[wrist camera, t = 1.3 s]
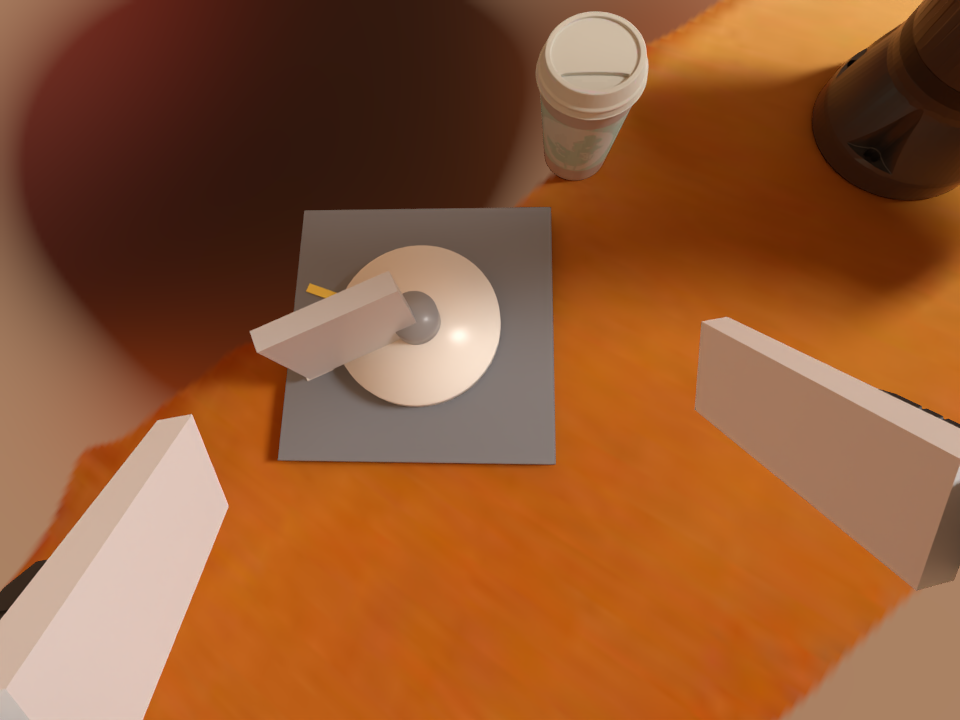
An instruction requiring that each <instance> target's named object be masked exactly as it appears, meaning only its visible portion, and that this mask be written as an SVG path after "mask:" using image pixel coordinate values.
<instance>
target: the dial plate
mask: <svg viewBox="0 0 960 720" xmlns="http://www.w3.org/2000/svg"><path fill="white" fill-rule="evenodd" d="M301 239H302V240H301V248H300V257H299V266H298V277H297V286H296V294H295V304H294V312H295V311H297V310H300V309H302V308H304V307H307V306H309V305H311V304H313V303H316V302H318V301H320V300H323V299H325V298H327V297H329V296H332V295H334V294H336V293H339V292H341V291H343V290H346V288H347V286H348V285H349V283H350V282H351V280H352V279H353V278H354V277H355V276H356V274H357V273H358V272H359V271H360V270H361V269H362V268H363V267H365V266H366V265H367V264H368V263H370V262H371V261H373V260H374V259H376V258H377V257H379V256H381V255H383V254H385V253H387V252H390V251H392V250H395V249H398V248H403V247H407V246H416V245H428V246H436V247H441V248H444V249H448V250H451V251H453V252H455V253H458V254H460V255H461V256H463V257H465V258H467V259H468V260H469V261H471V262H472V263H473V264H475V265H476V266H477V267H478V268H479V269H480V270H481V271H482V273H483V274H484V275H485V276H486V278H487V279H488V281H489V282H490V284H491V286H492V288H493V290H494V292H495V295H496V297H497V301H498V305H499V310H500V319H501V331H500V339H499V345H498V348H497V351H496V354H495V356H494V359H493V361H492V363H491V365H490V366H489V368H488V369H487V371H486V373H485V374H484V375H483V376H482V377H481V379H480V380H479V381H478V382H477V383H476V384H475V385H474V386H473V387H471V388H470V389H469V390H467V391H466V392H465V393H463V394H462V395H460V396H458V397H456V398H454V399H452V400H450V401H447V402H445V403H442V404H438V405H434V406H427V407H407V406H401V405H397V404H393V403H390V402H387V401H385V400H383V399H381V398H379V397H377V396H376V395H374V394H372V393H371V392H369V391H368V390H366V389H365V388H364V387H363V386H361V385H360V384H359V383H358V382H357V381H356V380H355V379H354V378H353V377H352V375H351V374H350V373H349V371H348V370H347V368H346V367H345V365H344V364H343V365H341V366H339V367H336V368H334V369H332V370H330V371H327V372H325V373H323V374H321V375H318V376H316V377H314V378H312V379H308V378H306V377H304V376H302V375H300V374H298V373H296V372H294V371H293V370H291V369H289V368H288V369H287V379H286V388H285V397H284V407H283V416H282V425H281V435H280V444H279V453H278V460H282V461H334V462H401V463H468V464H535V465H555V464H556V456H555V402H554V347H553V292H552V237H551V207H519V208H450V209H381V210H314V211H313V210H312V211H311V210H309V211H305V212H304V220H303V229H302V238H301Z"/></svg>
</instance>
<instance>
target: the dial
mask: <svg viewBox="0 0 960 720" xmlns="http://www.w3.org/2000/svg"><path fill="white" fill-rule="evenodd" d="M500 331H501V319H500V310H499V305H498V301H497V297H496V295H495V292H494V290H493V288H492V286H491V284H490V282H489V281H488V279H487V278H486V276H485V275H484V274H483V273H482V271H481V270H480V269H479V268H478V267H477V266H476V265H475V264H473V263H472V262H471V261H469V260H468V259H467V258H465V257H463V256H461V255H460V254H458V253H455V252H453V251H451V250H448V249H444V248H441V247H436V246H428V245H416V246H407V247H403V248H398V249H395V250H392V251H390V252H387V253H385V254H383V255H381V256H379V257H377V258H376V259H374V260H373V261H371V262H370V263H368V264H367V265H366V266H365V267H363V268H362V269H361V270H360V271H359V272H358V273H357V274H356V276H355V277H354V278H353V279H352V280H351V282H350V283H349V285H348V286H347V288H346V290H343V291H341V292H339V293H336V294H334V295H332V296H329V297H327V298H325V299H323V300H320V301H318V302H316V303H313V304H311V305H309V306H307V307H304V308H302V309H300V310H297V311H295V312H293V313H291V314H288V315H286V316H284V317H281V318H279V319H277V320H274V321H272V322H270V323H267V324H265V325H263V326H261V327H258V328H256V329H254V330H252V331H250V334H251V337H252V340H253V343H254V346H255V349H256V352H257V353H259V354H261V355H263V356H265V357H267V358H269V359H271V360H273V361H275V362H277V363H279V364H281V365H283V366H285V367H287V368H289V369H291V370H293V371H294V372H296V373H298V374H300V375H302V376H304V377H306V378H308V379H312V378H314V377H316V376H318V375H321V374H323V373H325V372H327V371H330V370H332V369H334V368H336V367H339V366H341V365H343V364H344V365H345V367H346V368H347V370H348V371H349V373H350V374H351V375H352V377H353V378H354V379H355V380H356V381H357V382H358V383H359V384H360V385H361V386H363V387H364V388H365V389H366V390H368V391H369V392H371V393H372V394H374V395H376V396H377V397H379V398H381V399H383V400H385V401H387V402H390V403H393V404H397V405H401V406H407V407H427V406H434V405H438V404H442V403H445V402H447V401H450V400H452V399H454V398H456V397H458V396H460V395H462V394H463V393H465V392H466V391H467V390H469V389H470V388H471V387H473V386H474V385H475V384H476V383H477V382H478V381H479V380H480V379H481V377H482V376H483V375H484V374H485V373H486V371H487V369H488V368H489V366H490V365H491V363H492V361H493V359H494V356H495V354H496V351H497V348H498V345H499V339H500Z"/></svg>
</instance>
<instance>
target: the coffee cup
mask: <svg viewBox="0 0 960 720" xmlns="http://www.w3.org/2000/svg"><path fill="white" fill-rule="evenodd" d="M647 75H648V59H647V53H646V45H645V42H644V39H643V37H642V36H641V34H640V32H639V31H638V30H637V29H636V27H635V26H633V25H632V24H631V23H630V22H628V21H627V20H625V19H624V18H622V17H620V16H617V15H614V14H611V13H606V12H586V13H581V14H577V15H574V16H572V17H570V18H568V19H566V20H564V21H563V22H562V23H560V24H559V25H558V26H557V27H556V28H555V29H554V30H553V32H552V33H551V34H550V36H549V38H548V40H547V42H546V43H545V45H544V47H543V48H542V50H541V53H540V55H539V59H538V62H537V66H536V81H537V85H538V88H539V90H540V96H541V112H542V127H543V143H544V154H545V155H544V156H545V161H546V164H547V166H548V167H549V168H550V170H551V171H552V172H553V173H554V174H556V175H557V176H559V177H561V178H564V179H567V180H582V179H586V178H588V177H590V176H592V175H594V174H595V173H596V172H597V171H598V170H599V169H600V168H601V166H602V164H603V162H604V160H605V158H606V156H607V155H608V153H609V151H610V149H611V147H612V145H613V143H614V141H615V139H616V137H617V135H618V133H619V131H620V129H621V127H622V125H623V123H624V121H625V119H626V117H627V115H628V113H629V111H630V109H631V107H632V105H633V104H634V103H635V102H636V101H637V100H638V99H639V98H640V96H641V95H642V93H643V91H644V89H645V86H646V82H647Z"/></svg>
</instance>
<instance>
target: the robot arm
mask: <svg viewBox="0 0 960 720" xmlns="http://www.w3.org/2000/svg"><path fill="white" fill-rule="evenodd" d="M812 124H813V132H814V136H815V139H816V142H817V145H818V147H819V149H820V151H821V153H822V154H823V156H824V157H825V159H826V160H827V162H828V163H829V164H830V165H831V166H832V167H833V168H834V169H835V170H836V171H837V172H838V173H839V174H840V175H841V176H842V177H844V178H845V179H846V180H848V181H849V182H851V183H852V184H854V185H856V186H857V187H859V188H861V189H863V190H865V191H868V192H870V193H873V194H876V195H879V196H883V197H887V198H892V199H900V200H919V199H926V198H931V197H935V196H938V195H941V194H944V193H946V192H948V191H950V190H952V189H954V188H955V187H957V186H959V185H960V0H924V1H923V2H922V3H921V4H920V5H919V6H918V8H917V9H916V10H915V11H914V12H913V13H912V14H911V16H910V17H909V18H908V19H907V20H906V21H905V22H903V23H902V24H900V25H899V26H897V27H896V28H894V29H893V30H891V31H890V32H888V33H887V34H885V35H884V36H883V37H881V38H880V39H878V40H877V41H875V42H874V43H873V44H872V45H870V46H869V47H868V48H866V49H864V50H862V51H861V52H859V53H858V54H856V55H855V56H853V57H852V58H850V59H849V60H848V61H847V62H846V63H844V64H843V65H842V66H841V67H840V68H839V69H838V71H837V72H836V73H835V74H834V75H833V77H832V78H831V79H830V80H829V82H828V83H827V84H826V85H825V86H824V88H823V89H822V91H821V92H820V94H819V96H818V98H817V100H816V103H815V106H814V110H813V118H812ZM695 410H696V411H697V412H698V413H700V414H701V415H702V416H703V417H704V418H706V419H707V420H708V421H709V422H711V423H712V424H713V425H714V426H715V427H717V428H718V429H719V430H720V431H722V432H723V433H724V434H725V435H726V436H728V437H729V438H730V439H731V440H733V441H734V442H735V443H736V444H737V445H739V446H740V447H741V448H742V449H744V450H745V451H746V452H747V453H749V454H750V455H751V456H752V457H753V458H755V459H756V460H757V461H758V462H760V463H761V464H762V465H763V466H764V467H766V468H767V469H768V470H769V471H771V472H772V473H773V474H774V475H775V476H777V477H778V478H779V479H780V480H782V481H783V482H784V483H785V484H786V485H788V486H789V487H790V488H791V489H793V490H794V491H795V492H796V493H798V494H799V495H800V496H801V497H802V498H804V499H805V500H806V501H807V502H809V503H810V504H811V505H812V506H813V507H815V508H816V509H817V510H818V511H820V512H821V513H822V514H823V515H824V516H826V517H827V518H828V519H829V520H831V521H832V522H833V523H834V524H835V525H837V526H838V527H839V528H840V529H842V530H843V531H844V532H845V533H847V534H848V535H849V536H850V537H851V538H853V539H854V540H855V541H856V542H858V543H859V544H860V545H861V546H862V547H864V548H865V549H866V550H867V551H869V552H870V553H871V554H872V555H873V556H875V557H876V558H877V559H878V560H880V561H881V562H882V563H883V564H884V565H886V566H887V567H888V568H889V569H891V570H892V571H893V572H894V573H896V574H897V575H898V576H899V577H900V578H902V579H903V580H904V581H905V582H907V583H908V584H909V585H910V586H911V587H913V588H914V589H915V590H916V591H917V590H921V589H924V588H928V587H931V586H935V585H939V584H942V583H946V582H949V581H953V580H954V579H955V576H956V574H957V571H958V568H959V566H960V424H958V423H956V422H954V421H952V420H950V419H945V420H944V419H943V416H941V415H939V414H937V413H935V412H933V411H931V410H929V409H922V406H920V405H918V404H916V403H914V402H912V401H910V400H907V399H905V398H903V397H901V396H899V395H897V394H894V393H890V392H887V391H884V390H880V389H877V388H875V387H873V386H871V385H868V384H866V383H864V382H862V381H860V380H858V379H856V378H854V377H852V376H850V375H848V374H845V373H843V372H841V371H839V370H837V369H835V368H833V367H831V366H829V365H827V364H825V363H823V362H820V361H818V360H816V359H814V358H812V357H810V356H808V355H806V354H804V353H802V352H800V351H797V350H795V349H793V348H791V347H789V346H787V345H785V344H783V343H781V342H779V341H777V340H775V339H772V338H770V337H768V336H766V335H764V334H762V333H760V332H758V331H756V330H754V329H752V328H750V327H747V326H745V325H743V324H741V323H739V322H737V321H735V320H733V319H731V318H729V317H724V318H718V319H713V320H707V321H702V323H701V336H700V349H699V362H698V375H697V388H696V401H695ZM227 509H228V503H227V501H226V498H225V496H224V493H223V491H222V488H221V486H220V483H219V481H218V478H217V476H216V473H215V471H214V468H213V466H212V463H211V461H210V458H209V456H208V453H207V451H206V448H205V446H204V443H203V441H202V438H201V435H200V433H199V430H198V428H197V425H196V423H195V420H194V418H193V415H192V414H190V415H185V416H179V417H174V418H168V419H163V420H158V421H157V422H156V423H155V424H154V426H153V427H152V428H151V429H150V431H149V432H148V433H147V435H146V436H145V437H144V438H143V440H142V441H141V442H140V443H139V445H138V446H137V447H136V448H135V450H134V451H133V452H132V454H131V455H130V456H129V457H128V459H127V460H126V461H125V462H124V464H123V465H122V466H121V467H120V469H119V470H118V471H117V473H116V474H115V475H114V476H113V478H112V479H111V480H110V481H109V483H108V484H107V485H106V486H105V488H104V489H103V490H102V492H101V493H100V494H99V495H98V497H97V498H96V499H95V500H94V502H93V503H92V504H91V506H90V507H89V508H88V509H87V511H86V512H85V513H84V514H83V516H82V517H81V518H80V519H79V521H78V522H77V523H76V525H75V526H74V527H73V528H72V530H71V531H70V532H69V533H68V535H67V536H66V537H65V538H64V540H63V541H62V542H61V544H60V545H59V546H58V547H57V549H56V550H55V551H54V552H53V554H52V555H51V556H50V557H49V559H47V560H43V561H38V562H35V563H34V564H33V565H32V566H30V567H29V568H28V569H27V570H26V571H24V572H23V573H22V574H21V575H19V576H18V577H17V578H16V579H14V580H13V581H12V582H11V583H9V584H8V585H7V586H6V587H4V588H3V590H2V591H1V592H0V720H143V718H144V715H145V713H146V710H147V708H148V705H149V703H150V700H151V698H152V695H153V693H154V690H155V688H156V685H157V683H158V680H159V678H160V675H161V673H162V670H163V668H164V665H165V663H166V660H167V658H168V655H169V653H170V651H171V648H172V646H173V643H174V641H175V638H176V636H177V633H178V631H179V628H180V626H181V623H182V621H183V618H184V616H185V613H186V611H187V608H188V606H189V603H190V601H191V598H192V596H193V593H194V591H195V588H196V586H197V583H198V581H199V579H200V576H201V574H202V571H203V569H204V566H205V564H206V561H207V559H208V556H209V554H210V551H211V549H212V546H213V544H214V541H215V539H216V536H217V534H218V531H219V529H220V526H221V524H222V521H223V519H224V516H225V514H226V511H227Z"/></svg>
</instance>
